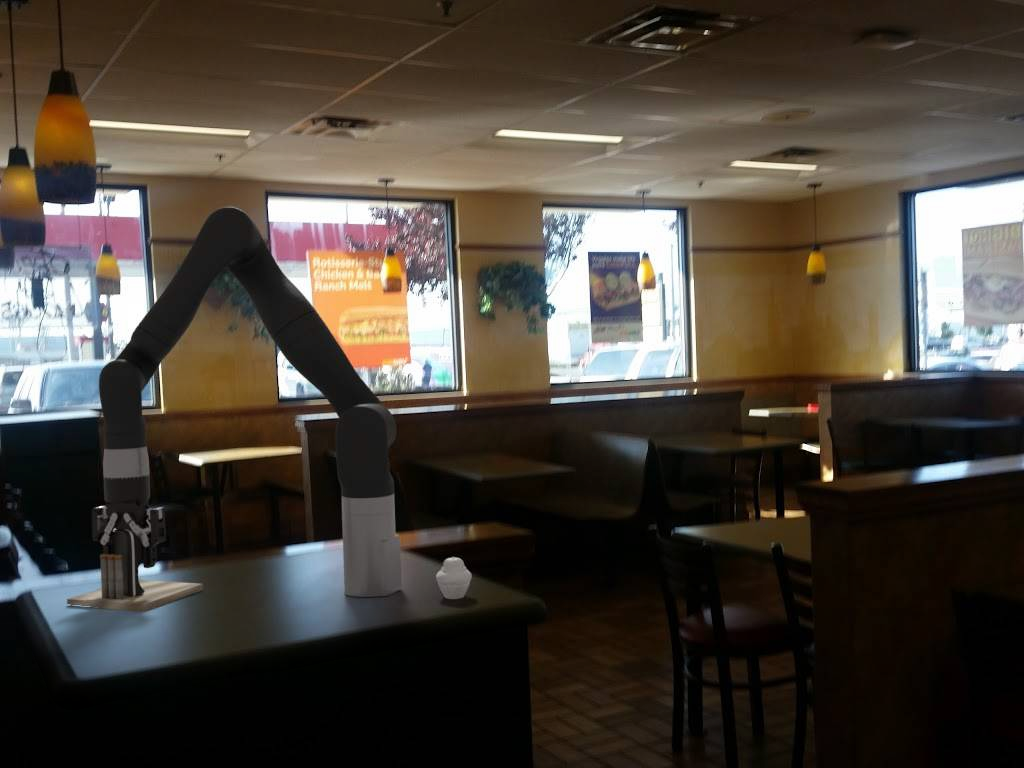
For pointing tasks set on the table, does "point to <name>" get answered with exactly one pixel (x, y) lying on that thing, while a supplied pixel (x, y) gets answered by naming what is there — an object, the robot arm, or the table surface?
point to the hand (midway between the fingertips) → (130, 566)
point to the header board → (115, 599)
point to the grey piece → (453, 578)
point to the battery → (129, 559)
